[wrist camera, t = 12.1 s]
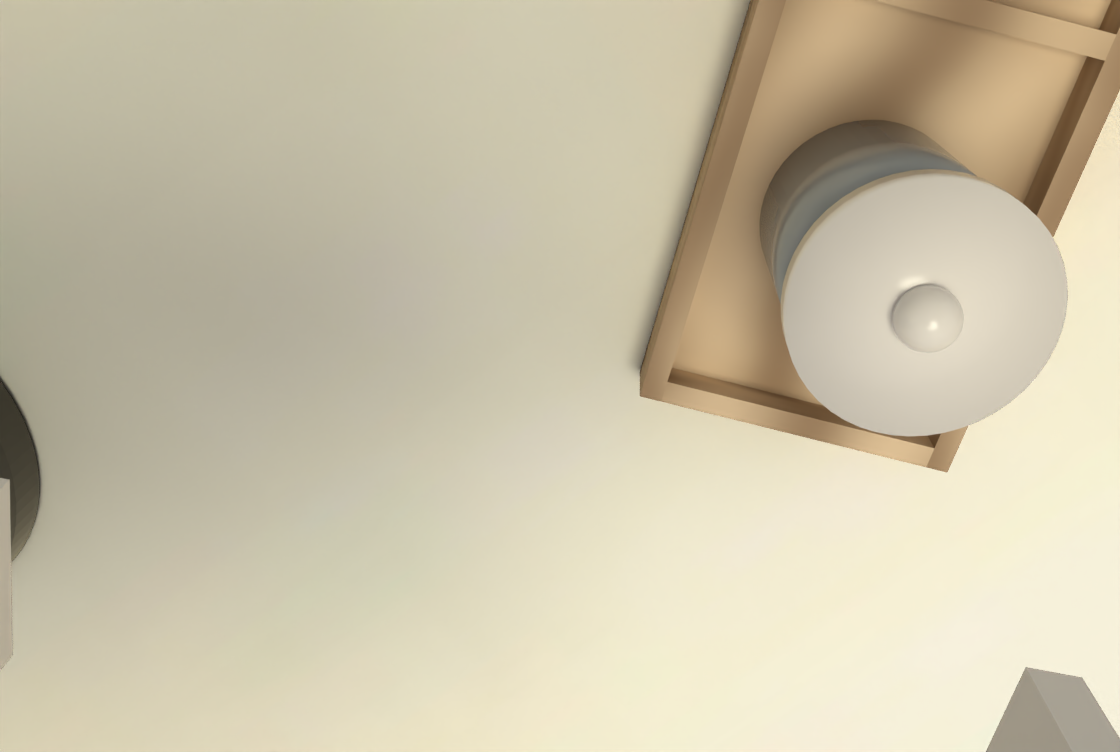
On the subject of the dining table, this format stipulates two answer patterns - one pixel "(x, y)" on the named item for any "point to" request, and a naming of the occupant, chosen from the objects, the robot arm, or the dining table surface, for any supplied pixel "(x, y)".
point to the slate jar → (908, 280)
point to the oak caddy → (851, 95)
